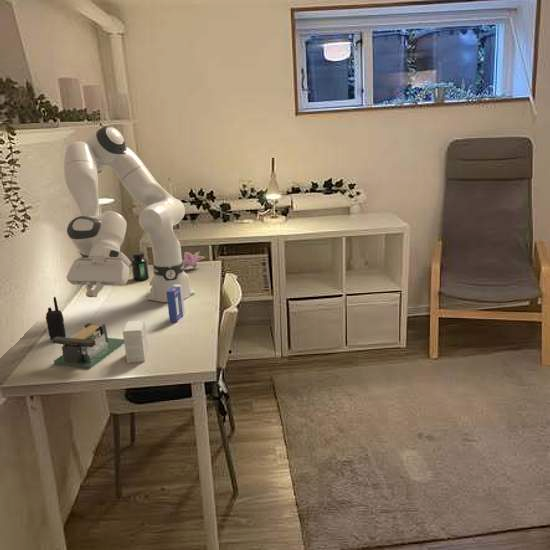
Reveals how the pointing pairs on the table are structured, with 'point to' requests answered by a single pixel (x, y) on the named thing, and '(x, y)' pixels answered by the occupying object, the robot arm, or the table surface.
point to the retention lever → (79, 338)
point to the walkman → (175, 303)
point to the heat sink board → (89, 350)
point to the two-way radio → (55, 322)
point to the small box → (135, 341)
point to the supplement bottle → (139, 267)
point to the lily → (191, 259)
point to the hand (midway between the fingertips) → (90, 296)
